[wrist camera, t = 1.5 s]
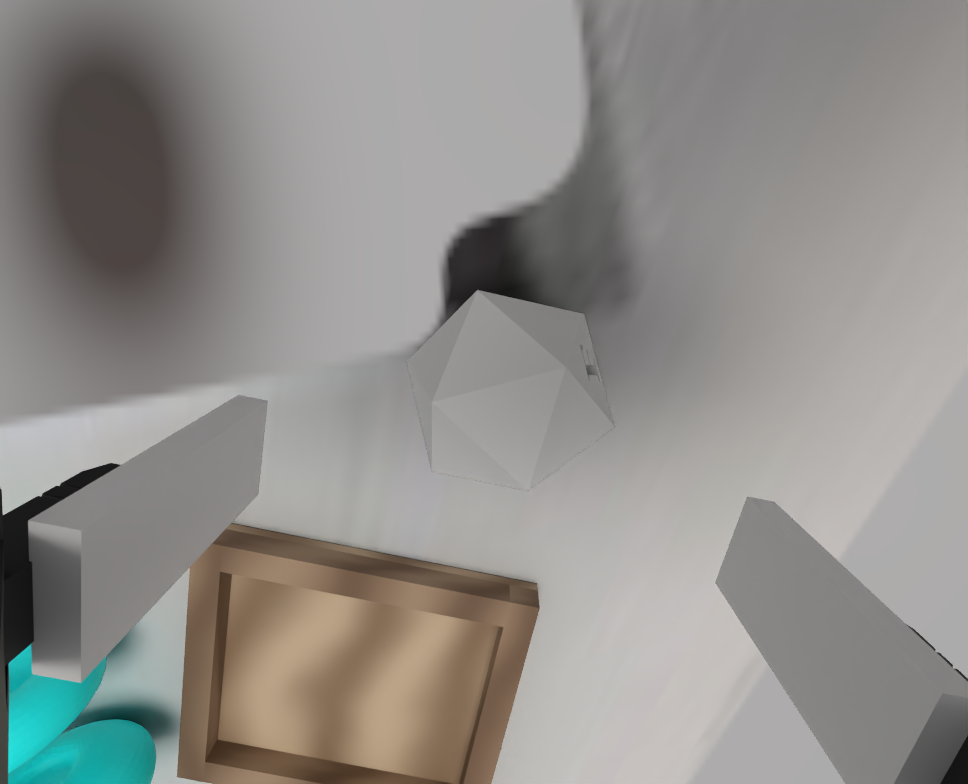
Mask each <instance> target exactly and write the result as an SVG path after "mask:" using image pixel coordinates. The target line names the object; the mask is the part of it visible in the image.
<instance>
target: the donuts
mask: <svg viewBox="0 0 968 784" xmlns="http://www.w3.org/2000/svg"><path fill="white" fill-rule="evenodd" d="M105 668H106V657H105V658H104V659H103V660H102V661H101V662H100V663H99V664H98V665H97V666H96V667H95V668H94V670H93V671H92V672H91V673H90V674H89V675H88V676H87V677H86V678H85V679H84V680H83V681H82V682H81V683H79V682H73V681H68V680H62V679H56V678H51V677H45V676H40V675H34V674H32V651H31V644H30V645H29V646H28V647H27V648H26V649H25V650H23V651H22V652H21V653H20V654H19V655H18V656H16V657H15V658H14V659H13V660H12V661H11V662H10V663H9V742H8V784H150V783H151V780H152V777H153V774H154V770H155V764H156V749H155V744H154V741H153V739H152V737H151V735H150V734H149V732H148V731H147V730H146V729H145V728H144V727H142V726H141V725H139V724H137V723H135V722H132V721H128V720H121V719H110V720H102V721H96V722H92V723H88V724H85V725H82V726H79V727H77V728H74V729H72V730H69V731H67V732H65V733H63V734H61V733H62V732H63V731H64V730H65V729H66V728H67V727H68V726H69V725H70V724H71V723H72V722H73V721H74V720H75V719H76V718H77V717H78V716H79V714H80V713H81V712H82V711H83V710H84V708H85V707H86V706H87V705H88V703H89V702H90V700H91V699H92V697H93V695H94V694H95V692H96V691H97V689H98V687H99V685H100V683H101V681H102V678H103V675H104V672H105ZM60 734H61V735H60Z"/></svg>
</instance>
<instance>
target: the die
mask: <svg viewBox="0 0 968 784" xmlns="http://www.w3.org/2000/svg"><path fill="white" fill-rule="evenodd" d="M406 363H407V367H408V371H409V376H410V380H411V384H412V389H413V393H414V397H415V401H416V406H417V410H418V414H419V419H420V423H421V427H422V431H423V436H424V440H425V444H426V449H427V453H428V457H429V461H430V466H431V470H432V472H436V473H441V474H446V475H451V476H456V477H461V478H466V479H471V480H476V481H480V482H485V483H490V484H495V485H500V486H505V487H510V488H515V489H520V490H525V491H529V490H530V489H531V488H533V487H534V486H535V485H537V484H538V483H540V482H541V481H542V480H544V479H545V478H546V477H548V476H549V475H550V474H552V473H553V472H554V471H556V470H557V469H558V468H560V467H561V466H562V465H564V464H565V463H567V462H568V461H569V460H571V459H572V458H573V457H575V456H576V455H577V454H579V453H580V452H581V451H583V450H584V449H585V448H587V447H588V446H589V445H591V444H592V443H593V442H595V441H596V440H598V439H599V438H600V437H602V436H603V435H604V434H606V433H607V432H608V431H610V430H611V429H612V428H614V427H615V426H614V422H613V418H612V415H611V411H610V407H609V404H608V400H607V396H606V392H605V389H604V385H603V381H602V378H601V374H600V370H599V367H598V363H597V359H596V356H595V352H594V348H593V345H592V341H591V337H590V334H589V330H588V326H587V323H586V319H585V315H584V314H582V313H578V312H573V311H569V310H564V309H560V308H555V307H551V306H546V305H542V304H538V303H533V302H529V301H524V300H520V299H515V298H511V297H506V296H502V295H497V294H493V293H488V292H484V291H480V290H477V291H476V292H475V293H474V294H473V295H472V296H471V297H470V298H469V299H468V300H467V301H466V302H465V303H464V304H463V305H462V306H461V307H460V308H459V309H458V310H457V311H456V312H455V313H454V314H453V315H452V316H451V317H450V318H449V319H448V320H447V321H446V322H445V323H444V324H443V325H442V326H441V327H440V328H439V329H438V330H437V331H436V332H435V333H434V334H433V335H432V336H431V337H430V338H429V339H428V340H427V341H426V342H425V343H424V344H423V345H422V346H421V348H420V349H419V350H418V351H417V352H416V353H415V354H414V355H413V356H412V357H411V358H410V359H409V360H408V361H407V362H406Z"/></svg>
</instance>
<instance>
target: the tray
mask: <svg viewBox="0 0 968 784" xmlns="http://www.w3.org/2000/svg"><path fill="white" fill-rule="evenodd" d="M538 612H539V599H538V589H537V584H535V583H530V582H525V581H520V580H515V579H510V578H505V577H500V576H495V575H490V574H485V573H480V572H475V571H470V570H464V569H459V568H454V567H449V566H444V565H439V564H434V563H429V562H424V561H419V560H414V559H409V558H404V557H399V556H394V555H389V554H384V553H378V552H373V551H368V550H363V549H358V548H353V547H348V546H343V545H338V544H333V543H328V542H323V541H318V540H313V539H308V538H303V537H298V536H293V535H287V534H282V533H277V532H272V531H267V530H262V529H257V528H252V527H247V526H242V525H237V524H232V523H231V524H230V525H229V526H228V527H227V528H226V529H225V530H224V531H223V532H222V533H221V534H220V535H219V536H218V538H217V539H216V540H215V541H214V542H213V543H212V544H211V545H210V546H209V547H208V548H207V549H206V550H205V551H204V552H203V554H202V555H201V556H200V557H199V558H198V559H197V560H196V561H195V562H194V563H193V564H192V565H191V566H190V577H189V593H188V609H187V625H186V642H185V658H184V674H183V690H182V706H181V723H180V739H179V755H178V771H177V777H180V778H185V779H191V780H196V781H202V782H207V783H212V784H491V782H492V779H493V775H494V771H495V768H496V764H497V761H498V757H499V753H500V750H501V746H502V742H503V739H504V735H505V731H506V728H507V724H508V721H509V717H510V713H511V710H512V706H513V702H514V699H515V695H516V692H517V688H518V684H519V681H520V677H521V673H522V670H523V666H524V662H525V659H526V655H527V652H528V648H529V644H530V641H531V637H532V633H533V630H534V626H535V623H536V619H537V615H538Z"/></svg>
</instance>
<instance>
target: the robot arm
mask: <svg viewBox="0 0 968 784" xmlns="http://www.w3.org/2000/svg"><path fill="white" fill-rule="evenodd" d="M267 402H268V401H266V400H261V399H256V398H251V397H246V396H241V395H238V396H236V397H234V398H233V399H231V400H229V401H228V402H226V403H224V404H223V405H221V406H219V407H218V408H216V409H214V410H213V411H211V412H209V413H208V414H206V415H204V416H203V417H201V418H199V419H198V420H196V421H194V422H193V423H191V424H189V425H187V426H186V427H184V428H182V429H181V430H179V431H177V432H176V433H174V434H172V435H171V436H169V437H167V438H166V439H164V440H162V441H161V442H159V443H157V444H156V445H154V446H152V447H151V448H149V449H147V450H146V451H144V452H142V453H140V454H139V455H137V456H135V457H134V458H132V459H130V460H129V461H127V462H125V463H124V464H122V465H118V464H113V463H110V464H106V465H103V466H99V467H96V468H92V469H89V470H86V471H82V472H81V473H79V474H77V475H75V476H73V477H72V478H70V479H68V480H66V481H64V482H63V483H61V485H60V486H55V487H54V488H52V489H50V490H48V491H46V492H44V493H43V495H42V496H41V497H40V496H37V497H35V498H34V499H32V500H30V501H28V502H26V503H25V504H23V505H21V506H19V507H17V508H16V509H14V510H12V511H10V512H8V513H7V514H5V515H2V491H1V489H0V784H8V742H9V663H10V662H11V661H12V660H13V659H14V658H15V657H16V656H18V655H19V654H20V653H21V652H22V651H23V650H25V649H26V648H27V647H28V646H29V645H30V644H31V651H32V674H34V675H40V676H45V677H51V678H56V679H62V680H68V681H73V682H79V683H81V682H82V681H83V680H84V679H85V678H86V677H87V676H88V675H89V674H90V673H91V672H92V671H93V670H94V668H95V667H96V666H97V665H98V664H99V663H100V662H101V661H102V660H103V659H104V658H105V657H106V656H107V655H108V654H109V653H110V651H111V650H112V649H113V648H114V647H115V646H116V645H117V644H118V643H119V642H120V641H121V640H122V639H123V638H124V637H125V635H126V634H127V633H128V632H129V631H130V630H131V629H132V628H133V627H134V626H135V625H136V624H137V623H138V622H139V621H140V620H141V618H142V617H143V616H144V615H145V614H146V613H147V612H148V611H149V610H150V609H151V608H152V607H153V606H154V605H155V604H156V602H157V601H158V600H159V599H160V598H161V597H162V596H163V595H164V594H165V593H166V592H167V591H168V590H169V589H170V588H171V587H172V585H173V584H174V583H175V582H176V581H177V580H178V579H179V578H180V577H181V576H182V575H183V574H184V573H185V572H186V571H187V569H188V568H189V567H190V566H191V565H192V564H193V563H194V562H195V561H196V560H197V559H198V558H199V557H200V556H201V555H202V554H203V552H204V551H205V550H206V549H207V548H208V547H209V546H210V545H211V544H212V543H213V542H214V541H215V540H216V539H217V538H218V536H219V535H220V534H221V533H222V532H223V531H224V530H225V529H226V528H227V527H228V526H229V525H230V524H231V523H232V522H233V521H234V519H235V518H236V517H237V516H238V515H239V514H240V513H241V512H242V511H243V510H244V509H245V508H246V507H247V506H248V505H249V504H250V502H251V501H252V500H253V499H254V498H255V497H256V496H257V495H258V492H259V482H260V472H261V462H262V452H263V442H264V432H265V422H266V412H267ZM715 583H716V584H717V586H718V588H719V589H720V591H721V592H722V594H723V595H724V597H725V598H726V600H727V601H728V603H729V605H730V606H731V608H732V609H733V611H734V612H735V614H736V615H737V617H738V618H739V620H740V622H741V623H742V625H743V626H744V628H745V629H746V631H747V632H748V634H749V635H750V637H751V639H752V640H753V642H754V643H755V645H756V646H757V648H758V649H759V651H760V652H761V654H762V655H763V657H764V659H765V660H766V662H767V663H768V665H769V666H770V668H771V669H772V671H773V672H774V674H775V675H776V677H777V679H778V680H779V682H780V683H781V685H782V686H783V688H784V689H785V691H786V693H787V694H788V695H789V697H790V699H791V700H792V702H793V703H794V705H795V706H796V708H797V709H798V711H799V713H800V714H801V716H802V717H803V719H804V720H805V722H806V723H807V725H808V726H809V728H810V730H811V731H812V733H813V734H814V736H815V737H816V739H817V740H818V742H819V743H820V745H821V747H822V748H823V750H824V751H825V753H826V754H827V756H828V757H829V759H830V760H831V762H832V763H833V765H834V767H835V768H836V770H837V771H838V773H839V774H840V776H841V777H842V779H843V781H844V782H845V783H846V784H968V679H967V678H966V677H965V676H964V675H963V674H962V673H961V672H960V671H959V670H957V669H954V668H953V667H952V666H953V665H952V664H951V663H950V662H949V661H948V660H947V659H946V658H944V657H943V656H942V655H941V654H940V653H937V652H935V649H934V647H933V646H932V645H930V644H929V643H928V642H927V641H926V640H925V639H924V638H923V637H922V636H921V635H920V634H919V633H917V632H916V631H915V630H914V629H913V628H911V627H910V626H908V625H907V624H905V623H904V622H903V621H902V620H901V619H900V618H899V617H897V615H895V614H894V613H893V612H892V611H891V610H890V609H889V608H888V607H887V606H886V605H885V604H884V603H882V602H881V601H880V600H879V599H878V598H877V597H876V596H875V595H874V594H873V593H871V591H870V590H869V589H867V588H866V587H865V586H864V585H863V584H862V583H861V582H860V581H859V580H858V579H857V578H856V577H854V576H853V575H852V574H851V573H850V572H849V571H848V570H847V569H846V568H845V567H844V566H843V565H842V564H841V563H839V562H838V561H837V560H836V559H835V558H834V557H833V556H832V555H831V554H830V553H829V552H828V551H827V550H826V549H824V548H823V547H822V546H821V545H820V544H819V543H818V542H817V541H816V540H815V539H814V538H813V537H812V536H810V535H809V534H808V533H807V532H806V531H805V530H804V529H803V528H802V527H801V526H800V525H799V524H798V523H796V522H795V521H794V520H793V519H792V518H791V517H790V516H789V515H788V514H787V513H786V512H785V511H784V510H782V509H781V508H780V507H779V506H778V505H777V504H776V503H775V502H772V501H767V500H762V499H757V498H752V497H747V498H746V501H745V504H744V507H743V509H742V512H741V515H740V517H739V520H738V523H737V525H736V528H735V531H734V533H733V536H732V539H731V542H730V544H729V547H728V550H727V552H726V555H725V558H724V560H723V563H722V566H721V569H720V571H719V574H718V577H717V579H716V582H715Z"/></svg>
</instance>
